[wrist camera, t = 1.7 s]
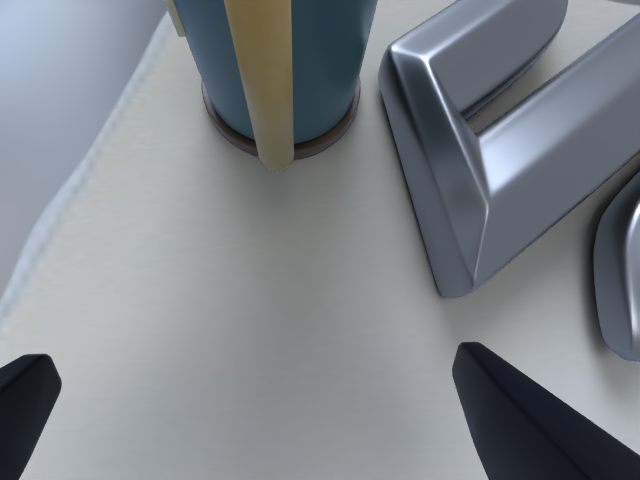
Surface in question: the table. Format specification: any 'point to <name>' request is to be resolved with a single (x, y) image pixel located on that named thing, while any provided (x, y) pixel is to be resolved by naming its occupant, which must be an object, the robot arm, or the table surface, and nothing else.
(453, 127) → the emblem
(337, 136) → the brown base ring
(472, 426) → the robot arm
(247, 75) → the teal coffee mug
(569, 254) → the table surface
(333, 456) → the table surface
